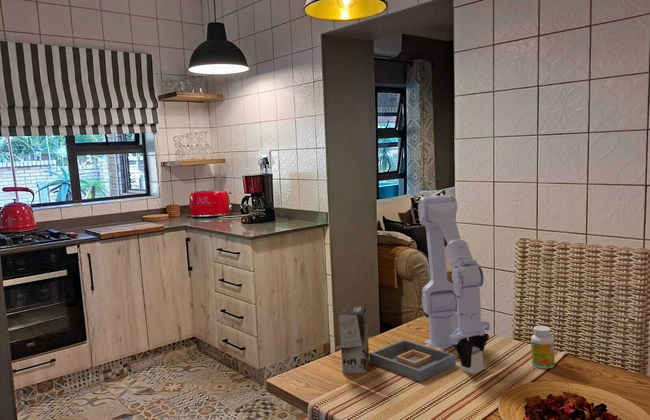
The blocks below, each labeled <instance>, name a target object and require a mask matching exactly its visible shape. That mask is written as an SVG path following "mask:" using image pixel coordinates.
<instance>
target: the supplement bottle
mask: <svg viewBox="0 0 650 420" xmlns="http://www.w3.org/2000/svg"><path fill="white" fill-rule="evenodd" d="M551 334H552V332H551V328H550V327H548V326H547V325H535V326H534V327H533V334H532V336H531V337H530V344H531V345H530V346H531V347H530V349H531V350H530V351H531V364H532V365H533V367H536V368H538V369H552V368H554V366H555V364H556V363H555V339H554V337H553V336H552V335H551Z"/></svg>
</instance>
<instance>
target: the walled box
mask: <svg viewBox="0 0 650 420" xmlns="http://www.w3.org/2000/svg"><path fill="white" fill-rule="evenodd" d="M411 350H416V351H419V352H422V353H425V354H428V355H431V357H432V360H430V361H428V362H426V363H424V364H421V365H419V366H417V367H413V366H410V365H407V364H404V363H401V362H399V361H396V356H399V355H401V354H403V353H406V352H408V351H411ZM405 359H408V360H411V361H414V362H415V361H417V360H420V359H422V358H421V357H418V356H415V355H412V356H409V357H407V358H405ZM369 364H373V365H374V366H378V367H379V368H380V367H381V368H382V369H386V370H388V371H391V372H393V373H396V374H399V375H402V376H404V377H406V378H409V379H412V380H415V381H418V382H423V381H424V380H427V379H430V378H431V377H434V376H435V375H437V374H439V373H441V372H443V371H446V370H447V369H449V368H452V367H454V366H456V364H457V363H456V354H453V353H451V352H447V351H443V350H441V349H436V348H434V347H431V346H427V345H424V344H420V343H418V342H413V341H411V340H407V339H402V340H399V341H397V342H395V343H391V344H389V345H387V346H384V347H382V348H380V349H377V350H374V351H372V352H369Z"/></svg>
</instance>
